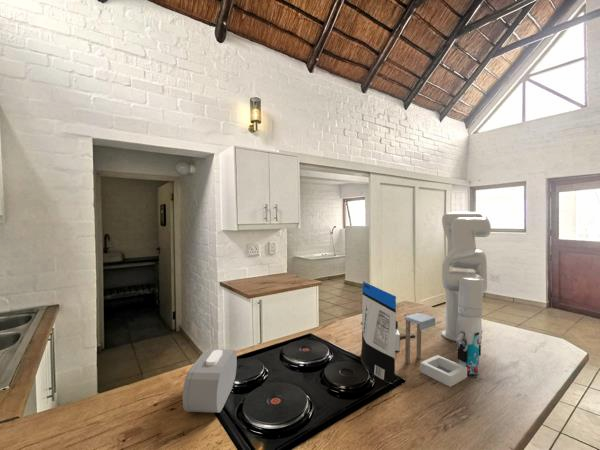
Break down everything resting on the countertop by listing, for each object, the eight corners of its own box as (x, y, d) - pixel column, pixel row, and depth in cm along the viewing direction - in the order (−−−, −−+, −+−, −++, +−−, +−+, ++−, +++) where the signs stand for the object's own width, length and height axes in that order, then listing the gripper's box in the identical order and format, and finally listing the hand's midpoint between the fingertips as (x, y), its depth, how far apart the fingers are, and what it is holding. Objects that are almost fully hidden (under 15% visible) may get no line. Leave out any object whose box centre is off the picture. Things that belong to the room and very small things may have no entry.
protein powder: (381, 388, 91) (383, 297, 91) (351, 354, 115) (352, 281, 115) (407, 384, 93) (408, 295, 93) (372, 352, 117) (373, 280, 117)
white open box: (419, 356, 114) (420, 312, 114) (467, 377, 98) (467, 326, 98) (402, 363, 108) (403, 316, 108) (450, 387, 92) (451, 333, 92)
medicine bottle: (399, 351, 118) (400, 323, 118) (382, 349, 119) (382, 321, 119) (397, 344, 125) (397, 317, 125) (380, 342, 126) (381, 316, 126)
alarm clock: (208, 379, 95) (209, 340, 95) (236, 380, 95) (236, 341, 95) (181, 423, 74) (181, 373, 74) (216, 424, 74) (216, 374, 74)
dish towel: (389, 321, 155) (389, 317, 155) (416, 338, 133) (416, 333, 133) (361, 324, 151) (361, 319, 151) (384, 342, 128) (384, 336, 128)
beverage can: (475, 378, 98) (476, 335, 98) (457, 371, 102) (457, 330, 102) (480, 372, 102) (481, 331, 102) (463, 365, 106) (463, 326, 106)
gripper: (470, 304, 110) (470, 347, 110) (447, 312, 100) (446, 359, 101) (492, 309, 104) (491, 355, 104) (469, 318, 94) (468, 368, 94)
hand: (469, 357), depth 102 cm, fingers open, 9 cm apart
